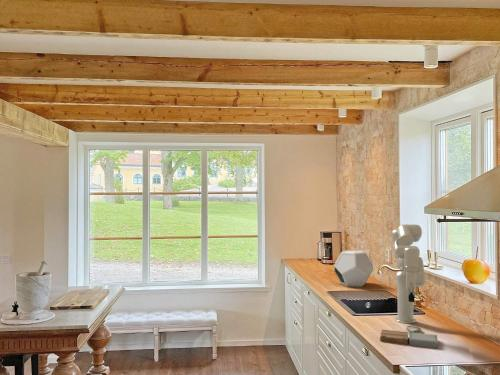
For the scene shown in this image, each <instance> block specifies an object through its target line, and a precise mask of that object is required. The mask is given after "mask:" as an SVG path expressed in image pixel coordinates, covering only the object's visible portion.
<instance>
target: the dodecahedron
mask: <svg viewBox="0 0 500 375" xmlns="http://www.w3.org/2000/svg"><path fill="white" fill-rule="evenodd" d="M373 269H374V264H373V262H372V260H371V259H370V257H369V255H368V253H366V252H365V251H364V250H361V249H360V250H359V249H345V250H343V251H341V252H340V254H339V255H338V258H337V259H336V261H335V263H334V265H333V272H334V275H335V276H336V277H337V279H338V280H339V283H341V284H342V285H344V286H345V287H354V288H355V287H356V288H357V287H358V288H359V287H360V288H362V287H364V285H366V283H367V281H369V277H370V276H371V274H372V273H373Z"/></svg>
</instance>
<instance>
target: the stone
mask: <svg viewBox="0 0 500 375" xmlns="http://www.w3.org/2000/svg"><path fill="white" fill-rule="evenodd" d="M405 329H406V330H407V332H409V333H410V332H411V333H422V334H426V333H425V331H423V330H422V328H420V327H419V326H416V325H413V326H412V325H407V326H406V327H405Z"/></svg>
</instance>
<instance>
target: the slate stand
mask: <svg viewBox="0 0 500 375" xmlns="http://www.w3.org/2000/svg"><path fill="white" fill-rule="evenodd" d="M408 343H409V346H411V347H412V346H413V347H420V348H421V347H422V348H429V349H439V341H438V334H431V333H430V334H429V333H424V334H422V333H411V332H410V331H409V338H408Z"/></svg>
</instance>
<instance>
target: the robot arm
mask: <svg viewBox="0 0 500 375" xmlns="http://www.w3.org/2000/svg"><path fill="white" fill-rule="evenodd" d="M422 230H423V229H422V227H421V226H420V225H418V224H408V223H407V224H401V225H399V226H398V228H397V229H394V230H392V231H391V240H392V243H393V244H392V245H393V248H392V249H393V254H394V257H395V258H396V265H397V268H398V270H400V271H397V272H396V274H395V282H396V289H397V293H396V294H397V295H396V296H397V300H396V301H397V316H396V317H395V318H394V321H396V323H397V322H398V323H400V324H401V323H402V324H415V323H416V322H417V319H416V318H414V303H415V301H416V300H415V291H416V287H417V288H419V287H420V288H421V287H424V286H425V284H426V276H425V269H424V268H425V266H424V265H425V264H424V262H423V261H424V260H423V258H422V257H421V256H420V255H421V252H420V248H419V247H418V246H416V245H413V244H414V243H417V242H419V241H420V239H421V237H422V234H423V231H422Z"/></svg>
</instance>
